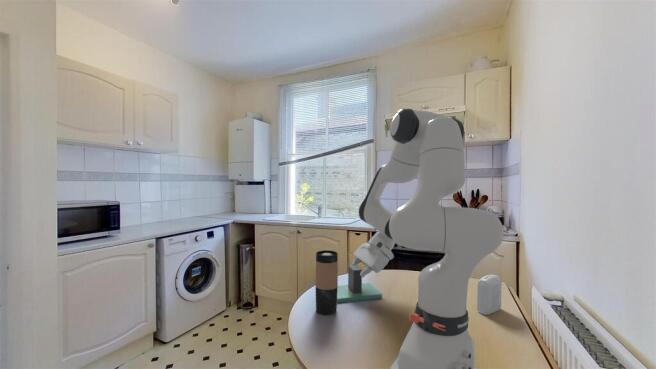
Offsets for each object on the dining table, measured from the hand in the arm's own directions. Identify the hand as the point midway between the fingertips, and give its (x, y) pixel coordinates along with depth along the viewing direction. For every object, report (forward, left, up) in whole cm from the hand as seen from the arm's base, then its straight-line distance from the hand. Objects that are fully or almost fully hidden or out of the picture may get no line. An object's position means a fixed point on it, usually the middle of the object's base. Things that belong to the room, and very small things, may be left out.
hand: (356, 272), depth 112 cm
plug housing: (0, 0, -7) cm, 7 cm away
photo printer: (+23, -42, -9) cm, 48 cm away
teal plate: (0, 0, -9) cm, 9 cm away
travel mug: (-18, -2, -9) cm, 20 cm away
